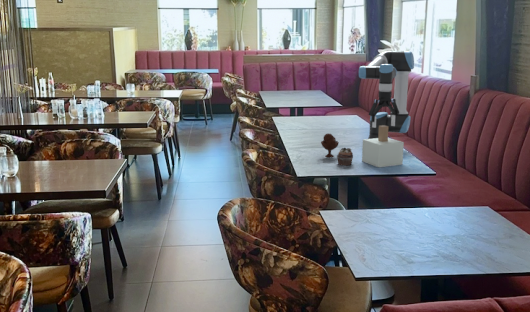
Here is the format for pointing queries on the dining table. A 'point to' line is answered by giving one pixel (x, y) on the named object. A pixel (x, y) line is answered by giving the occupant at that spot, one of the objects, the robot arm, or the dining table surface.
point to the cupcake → (345, 157)
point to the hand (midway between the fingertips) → (383, 126)
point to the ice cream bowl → (329, 144)
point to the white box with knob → (382, 150)
